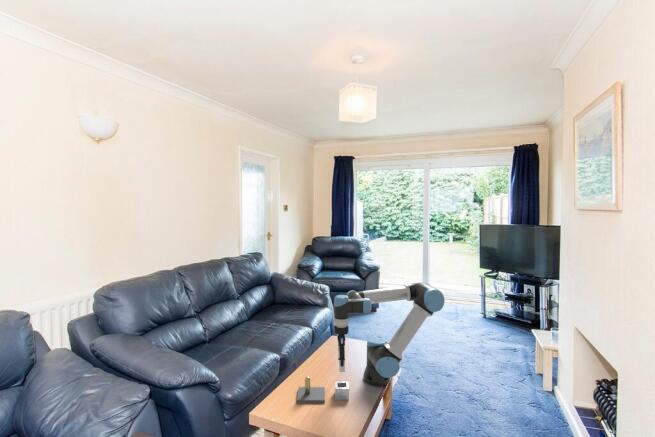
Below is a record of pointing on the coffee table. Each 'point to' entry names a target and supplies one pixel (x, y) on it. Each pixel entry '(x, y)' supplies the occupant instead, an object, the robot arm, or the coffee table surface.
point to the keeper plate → (311, 395)
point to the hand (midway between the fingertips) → (341, 365)
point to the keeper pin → (307, 385)
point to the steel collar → (341, 390)
